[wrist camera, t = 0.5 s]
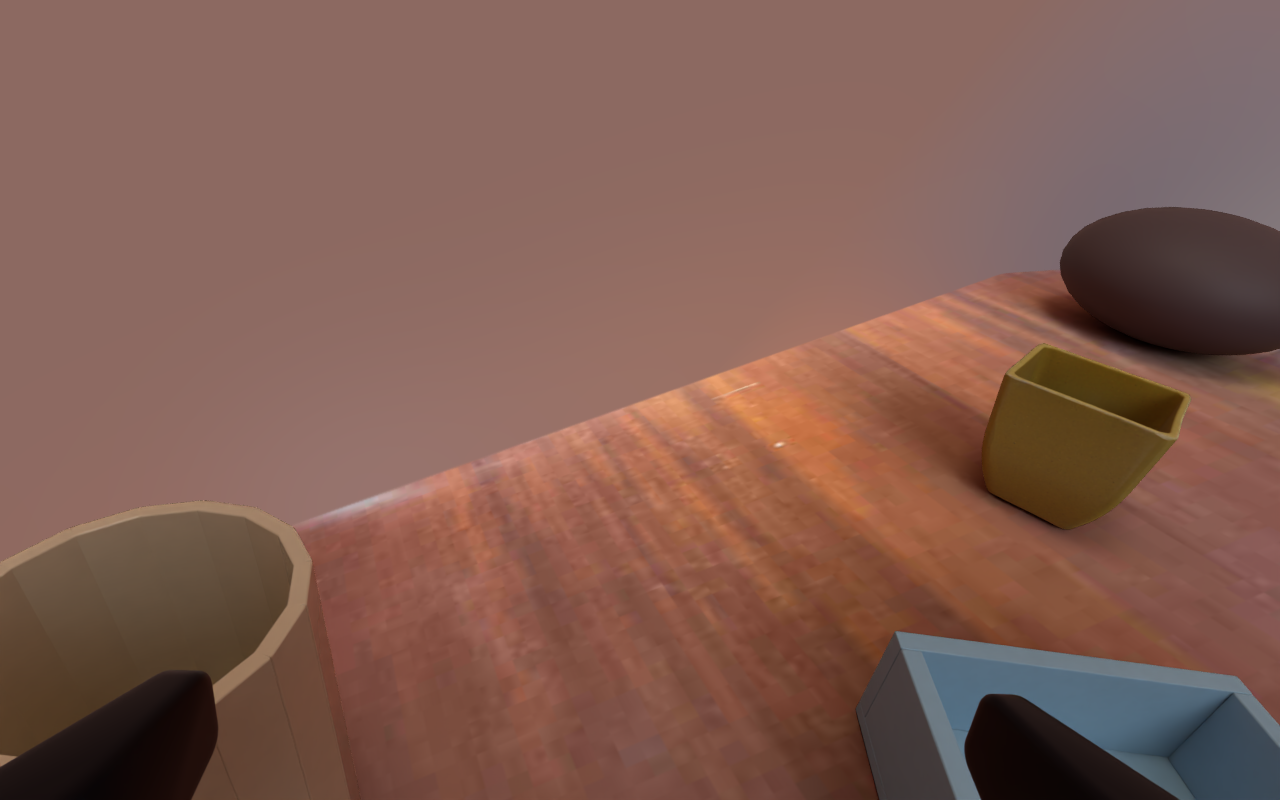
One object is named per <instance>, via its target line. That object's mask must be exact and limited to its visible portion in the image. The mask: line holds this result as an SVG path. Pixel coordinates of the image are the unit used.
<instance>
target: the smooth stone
mask: <svg viewBox="0 0 1280 800" xmlns="http://www.w3.org/2000/svg"><path fill="white" fill-rule="evenodd" d="M1060 270H1061V276H1062V278H1063V281H1064V283H1065V285H1066V287H1067V290H1068V292H1069V293H1070V294H1071V295H1072V297H1073V298H1074V299H1075V300H1076V302H1077V303H1078V304H1079V305H1080V306H1081V307H1082V308H1084V309H1085V310H1086V311H1087V312H1089V313H1090V314H1091V315H1092V316H1094V317H1095V318H1096V319H1098V320H1099V321H1101V322H1102V323H1104V324H1106V325H1108V326H1110V327H1112V328H1114V329H1116V330H1118V331H1120V332H1121V333H1124V334H1126V335H1128V336H1130V337H1133V338H1135V339H1138V340H1141V341H1144V342H1147V343H1150V344H1153V345H1157V346H1161V347H1165V348H1169V349H1174V350H1180V351H1186V352H1192V353H1199V354H1209V355H1246V354H1254V353H1262V352H1270V351H1273V350H1276V349H1280V231H1278V230H1276V229H1274V228H1271V227H1268V226H1266V225H1263V224H1260V223H1258V222H1255V221H1252V220H1249V219H1246V218H1243V217H1240V216H1236V215H1232V214H1227V213H1223V212H1217V211H1212V210H1205V209H1194V208H1181V207H1163V208H1144V209H1138V210H1132V211H1126V212H1121V213H1118V214H1115V215H1112V216H1108V217H1105V218H1102V219H1100V220H1097V221H1096V222H1093V223H1092V224H1089V225H1087V226H1086V227H1084V228H1083V229H1082V230H1080V231H1079V232H1078V233H1077V234H1075V235H1074V236H1073V237H1072V239H1071V240H1070V241H1069V243H1068V244H1067V246H1066V247H1065V248H1064V250H1063V253H1062V257H1061V260H1060Z"/></svg>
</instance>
